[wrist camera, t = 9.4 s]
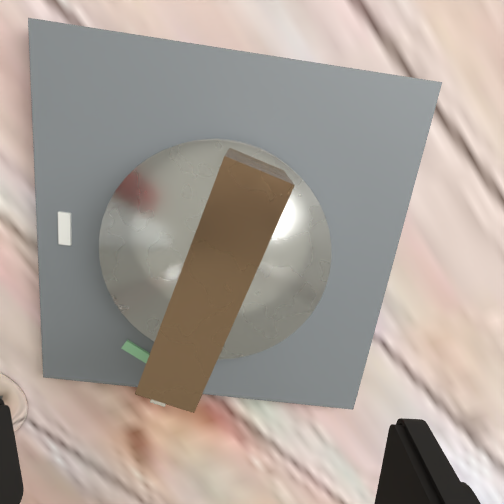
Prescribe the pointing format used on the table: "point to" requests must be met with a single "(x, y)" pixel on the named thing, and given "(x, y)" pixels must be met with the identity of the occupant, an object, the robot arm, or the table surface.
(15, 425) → the beer glass
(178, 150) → the tuning dial
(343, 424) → the table surface
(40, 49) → the dial plate
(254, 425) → the table surface
